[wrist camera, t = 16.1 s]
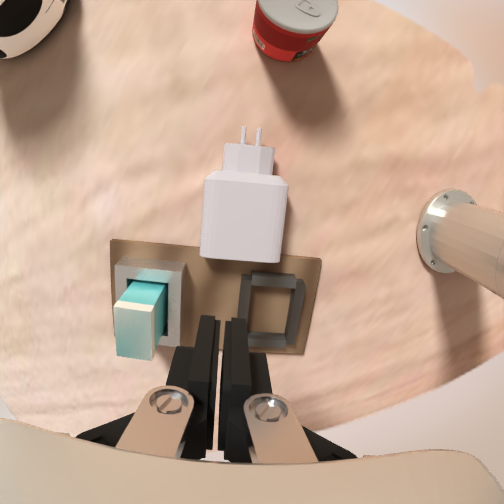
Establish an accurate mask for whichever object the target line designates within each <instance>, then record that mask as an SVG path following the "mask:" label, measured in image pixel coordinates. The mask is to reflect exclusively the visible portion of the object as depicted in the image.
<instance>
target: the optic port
mask: <svg viewBox="0 0 504 504" xmlns="http://www.w3.org/2000/svg"><path fill="white" fill-rule="evenodd" d="M185 271H186V263H183V262H173V261H163V260H152V259H143V258H133V257H123V258H122V259H120V260H119V261H118V262H117V263H116V264H115V293H116V302H117V301H118V300H119V299H120V297H121V296H122V295H123V294H124V292H125V291H126V290H127V288H128V287H129V286H130V285H131V283H132V282H133V281H134V279H137V280H146V281H155V282H164V283H169V284H168V323H166V325H165V327H164V330H163V333H162V335H161V338H160V341H159V343H158V345H161V346H169V347H177V346H180V345H181V341H182V337H183V327H184V294H185Z"/></svg>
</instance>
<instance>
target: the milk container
mask: <svg viewBox="0 0 504 504" xmlns="http://www.w3.org/2000/svg"><path fill="white" fill-rule="evenodd" d="M69 1H70V0H0V59H5V58H12V57H15V56H18V55H21V54H23V53H25V52H26V51H28V50H30V49H32V48H33V47H35V46H36V45H37V44H38V43H39V42H41V41H42V40H43V39H44V38H45V37H46V36H47V35H48V34H49V33H50V32H51V31H52V29H53V28H54V27H55V26H56V24H57V23H58V22H59V20H60V19H61V17H62V16H63V14H64V12H65V10H66V8H67V6H68V4H69Z"/></svg>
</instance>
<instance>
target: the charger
mask: <svg viewBox="0 0 504 504" xmlns="http://www.w3.org/2000/svg"><path fill="white" fill-rule="evenodd" d="M261 130H262V129H261V128H257V134H256V144H255V145H246V144H245V138H246V127H245V126H243V127H242V131H241V141H240V144H232V143H225V146H224V157H223V167H222V170H214V171H213V172H212V173H211V174H210V175H208V176H207V177H206V178H205V183H204V195H203V209H202V223H201V239H200V256H202V257H207V258H216V259H228V260H241V261H254V262H267V263H276V262H280V255H281V247H282V239H283V230H284V222H285V214H286V205H287V196H288V187H289V186H288V185H287V183H286V182H285V181H284V180H283V179H282V177H280V176H277V175H272V172H273V163H274V153H275V148H272V147H265V146H260V140H261Z"/></svg>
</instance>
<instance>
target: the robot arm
mask: <svg viewBox="0 0 504 504" xmlns="http://www.w3.org/2000/svg"><path fill="white" fill-rule="evenodd" d="M417 245H418V249H419V253H420V255H421V257H422V259H423V260H424V262H425V263H426V264H427V265H428V266H429V267H430V268H431V269H433V270H435V271H437V272H440V273H446V274H447V273H453V272H455V271H458V272H459V273H461V274H463V275H465V276H466V277H468V278H470V279H471V280H473V281H475V282H476V283H478V284H480V285H481V286H483V287H485V288H486V289H488V290H490V291H491V292H493V293H495V294H496V295H498V296H499V297H501V298H503V299H504V213H503V212H500V211H496V210H492V209H489V208H485V207H481V206H478V205H477V204H476V202H475V201H474V199H473V198H472V197H471V196H470V195H468V194H467V193H466V192H463V191H461V190H456V189H447V190H444V191H441V192H439V193H438V194H436V195H435V196H434V197H433V198H431V200H430V201H429V202H428V203H427V205H426V206H425V208H424V210H423V212H422V214H421V217H420V219H419V224H418V228H417ZM220 325H221V320H215V316H211V315H201V316H200V321H199V326H198V331H197V336H196V342H195V347H194V348H193V347H183V346H177V347H176V349H175V353H174V357H173V360H172V364H171V367H170V371H169V375H168V378H167V382H166V386H160V387H156V388H154V389H152V390H150V391H149V392H148V393H147V394H146V395H145V397H144V398H143V400H142V402H141V404H140V405H139V407H138V409H137V410H136V412H134V413H132V414H130V415H127V416H125V417H122V418H120V419H117V420H114V421H112V422H109V423H107V424H104V425H101V426H99V427H96V428H93V429H91V430H88V431H85V432H83V433H81V434H79V435H77V436H76V437H71V436H70V435H69V434H68V433H58V432H53V431H50V430H46V429H43V428H39V427H36V426H33V425H30V424H26V423H22V422H18V421H14V420H10V419H4V418H0V504H504V489H503V488H502V486H501V485H500V483H499V482H498V481H497V479H496V478H495V477H494V476H493V474H492V473H491V472H490V471H489V470H488V468H487V467H486V466H485V465H484V464H483V463H481V461H479V460H478V459H477V458H475V457H474V456H472V455H470V454H468V453H464V452H460V451H454V450H442V449H434V450H433V449H432V450H431V449H430V450H417V451H408V452H401V453H394V454H387V455H379V456H369V455H364V456H363V458H357V457H356V455H354V454H353V453H351V452H350V451H348V450H346V449H344V448H342V447H340V446H338V445H336V444H334V443H332V442H331V441H329V440H327V439H325V438H323V437H321V436H319V435H318V434H316V433H314V432H312V431H310V430H309V429H307V428H305V427H303V426H302V425H301V424H300V422H299V420H298V417H297V415H296V413H295V411H294V409H293V407H292V405H291V404H290V402H289V401H287V400H286V399H285V398H283V397H280V396H278V395H274V394H272V388H271V382H270V376H269V370H268V364H267V358H266V354H265V353H254V352H249V347H248V335H247V322H246V318H234V317H231V321H225V331H224V343H223V355H222V367H221V380H220V401H219V427H218V450H220V451H224V459H225V460H229V461H230V462H217V461H204V460H200V459H201V458H205V455H206V449H207V450H212V448H213V431H214V415H215V400H216V385H217V369H218V354H219V339H220Z"/></svg>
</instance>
